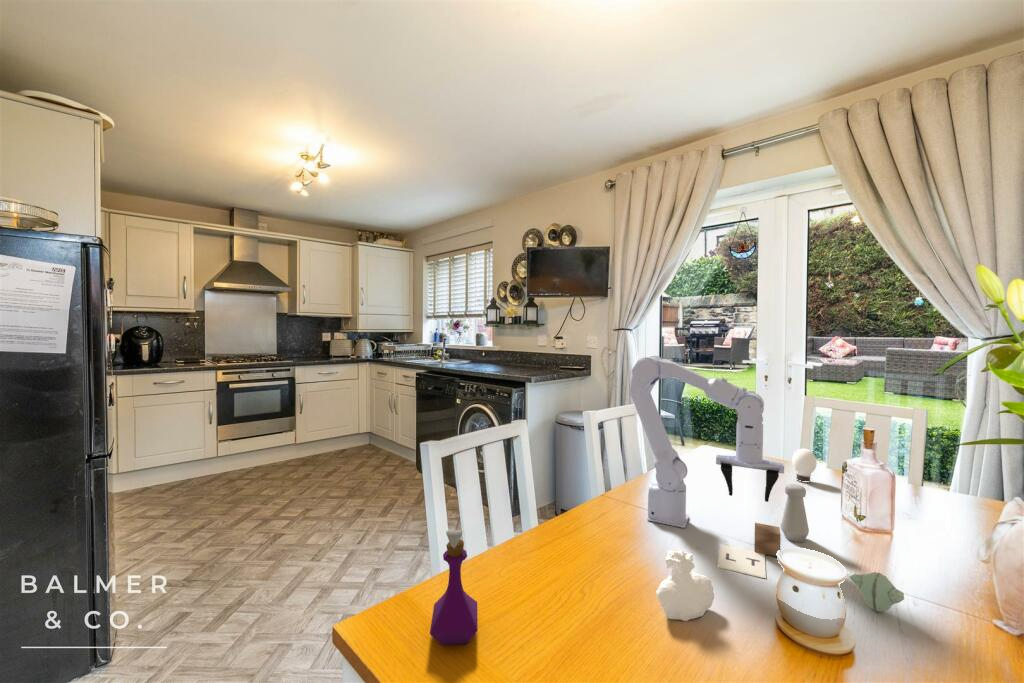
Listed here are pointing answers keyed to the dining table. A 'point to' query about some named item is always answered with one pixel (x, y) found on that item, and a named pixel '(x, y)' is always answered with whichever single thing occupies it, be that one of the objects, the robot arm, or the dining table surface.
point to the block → (767, 539)
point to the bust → (684, 588)
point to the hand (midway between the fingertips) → (748, 497)
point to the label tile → (742, 561)
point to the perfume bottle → (454, 600)
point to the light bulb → (804, 464)
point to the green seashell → (877, 590)
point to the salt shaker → (795, 514)
